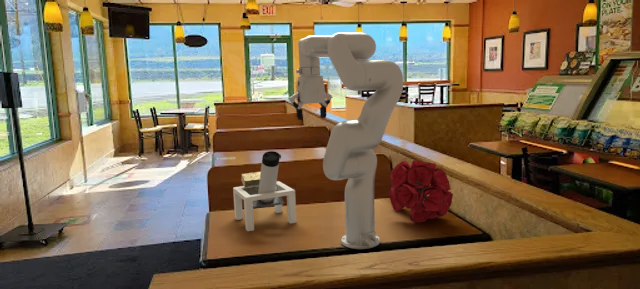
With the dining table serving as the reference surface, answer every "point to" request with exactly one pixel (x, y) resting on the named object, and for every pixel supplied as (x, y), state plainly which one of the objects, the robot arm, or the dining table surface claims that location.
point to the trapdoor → (257, 190)
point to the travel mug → (269, 173)
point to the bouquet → (420, 190)
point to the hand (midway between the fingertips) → (311, 118)
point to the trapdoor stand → (248, 199)
